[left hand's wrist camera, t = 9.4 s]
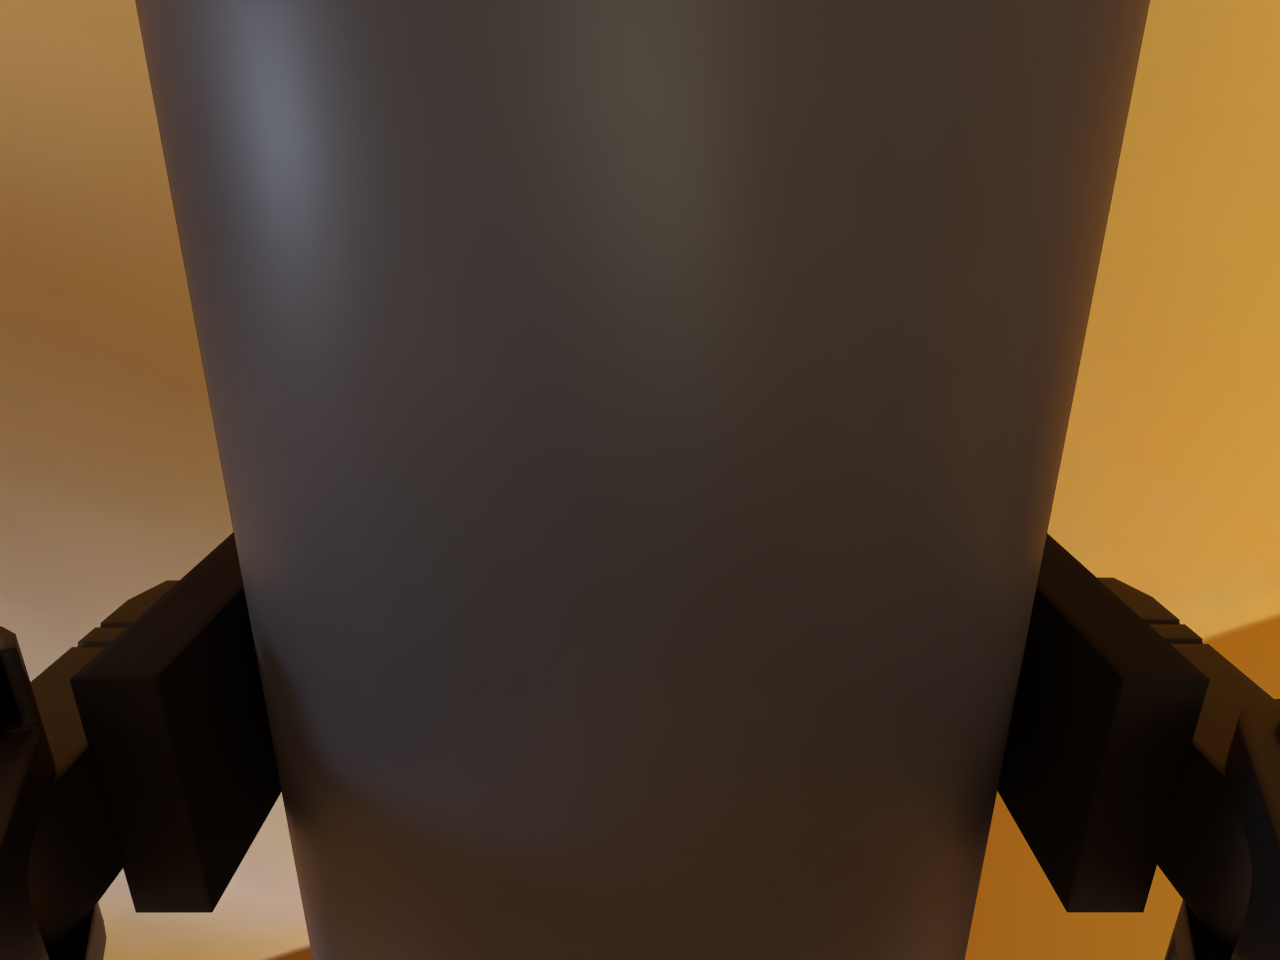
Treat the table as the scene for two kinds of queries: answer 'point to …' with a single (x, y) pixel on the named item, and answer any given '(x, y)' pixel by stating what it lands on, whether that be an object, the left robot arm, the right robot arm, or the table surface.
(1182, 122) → the table surface
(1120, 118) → the rod
